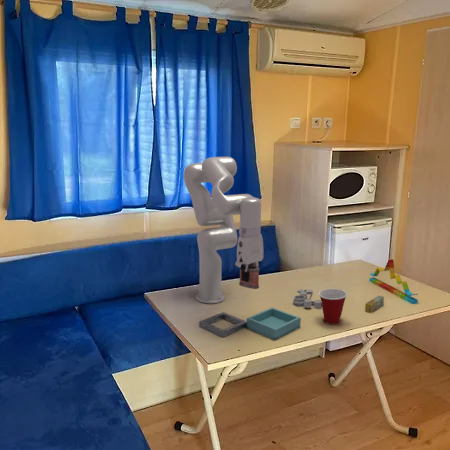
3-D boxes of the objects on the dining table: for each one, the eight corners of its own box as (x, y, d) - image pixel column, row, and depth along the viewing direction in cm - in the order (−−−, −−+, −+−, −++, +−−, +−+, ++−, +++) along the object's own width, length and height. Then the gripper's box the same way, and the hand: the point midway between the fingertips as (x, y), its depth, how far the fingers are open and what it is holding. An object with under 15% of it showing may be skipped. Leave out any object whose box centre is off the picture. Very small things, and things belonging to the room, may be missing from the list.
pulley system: (311, 319, 192) (342, 312, 197) (310, 308, 191) (342, 301, 196) (279, 298, 217) (307, 292, 222) (278, 288, 216) (307, 282, 221)
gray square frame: (199, 326, 183) (199, 321, 182) (223, 316, 192) (223, 311, 191) (223, 337, 174) (223, 332, 173) (247, 326, 183) (247, 321, 182)
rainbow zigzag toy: (418, 303, 207) (421, 270, 204) (411, 304, 206) (415, 271, 203) (374, 281, 235) (377, 251, 232) (369, 281, 234) (371, 252, 231)
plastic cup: (315, 315, 194) (316, 287, 191) (342, 315, 193) (343, 287, 191) (319, 326, 183) (321, 297, 180) (347, 327, 183) (350, 298, 180)
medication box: (377, 304, 207) (378, 295, 206) (383, 305, 205) (384, 296, 204) (364, 312, 198) (365, 303, 197) (370, 313, 196) (371, 304, 195)
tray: (246, 327, 182) (246, 318, 181) (271, 316, 192) (272, 307, 191) (275, 340, 172) (275, 329, 171) (300, 327, 182) (300, 317, 181)
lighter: (260, 287, 178) (261, 261, 175) (256, 289, 175) (256, 263, 173) (242, 282, 182) (242, 257, 180) (237, 285, 179) (237, 259, 177)
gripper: (241, 237, 166) (240, 287, 170) (273, 229, 177) (271, 277, 181) (226, 233, 171) (226, 282, 175) (258, 226, 182) (257, 272, 186)
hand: (249, 279), depth 178 cm, fingers closed on lighter, 3 cm apart
